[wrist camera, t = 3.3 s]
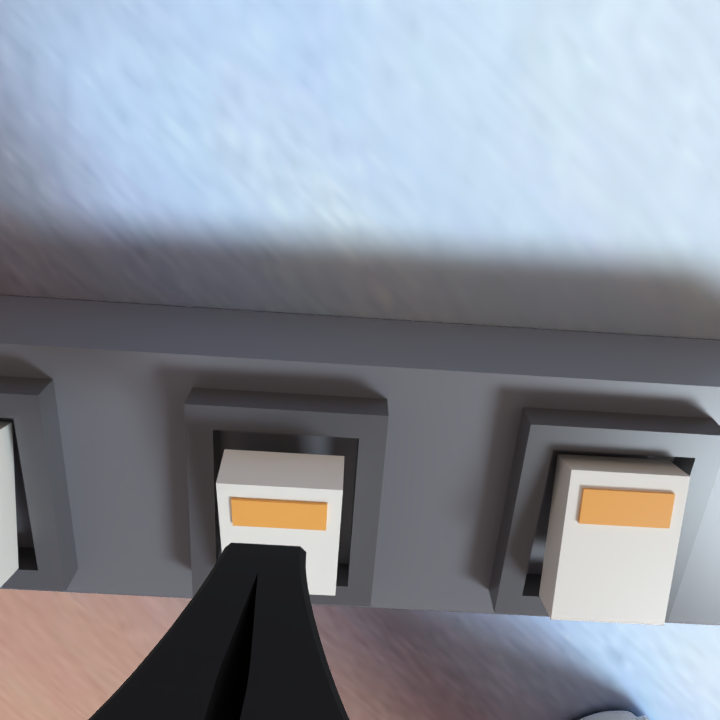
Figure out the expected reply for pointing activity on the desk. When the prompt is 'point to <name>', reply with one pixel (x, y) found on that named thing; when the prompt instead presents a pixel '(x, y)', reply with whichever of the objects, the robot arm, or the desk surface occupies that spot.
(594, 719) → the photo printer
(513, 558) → the rocker switch panel
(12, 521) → the rocker
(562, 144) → the desk surface
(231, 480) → the middle rocker
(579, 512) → the rocker
